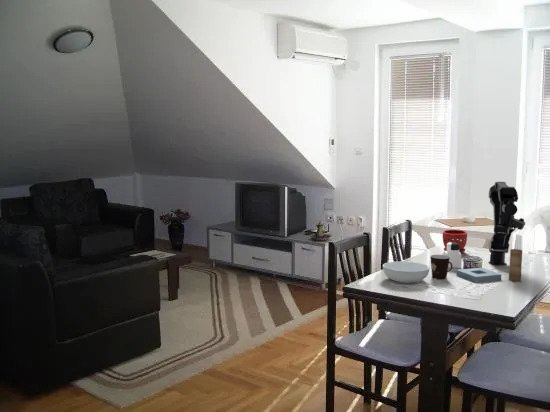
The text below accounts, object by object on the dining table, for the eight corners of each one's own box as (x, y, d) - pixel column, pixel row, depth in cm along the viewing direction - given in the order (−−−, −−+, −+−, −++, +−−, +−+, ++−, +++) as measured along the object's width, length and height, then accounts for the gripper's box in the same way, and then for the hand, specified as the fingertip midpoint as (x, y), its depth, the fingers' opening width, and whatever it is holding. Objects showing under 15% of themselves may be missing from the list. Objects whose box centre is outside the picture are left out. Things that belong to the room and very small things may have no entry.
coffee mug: (427, 275, 270) (428, 254, 268) (445, 275, 270) (446, 254, 268) (434, 281, 258) (435, 260, 257) (453, 281, 258) (454, 260, 257)
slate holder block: (481, 272, 274) (481, 267, 274) (501, 279, 261) (501, 274, 261) (456, 275, 270) (456, 269, 270) (475, 282, 257) (475, 276, 257)
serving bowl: (439, 282, 257) (439, 267, 256) (404, 289, 246) (405, 273, 245) (406, 273, 275) (406, 258, 274) (372, 278, 264) (373, 264, 263)
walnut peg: (511, 278, 263) (513, 248, 262) (522, 280, 260) (524, 250, 258) (507, 280, 260) (508, 250, 258) (518, 282, 256) (519, 251, 255)
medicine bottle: (458, 264, 291) (458, 241, 290) (461, 268, 284) (462, 244, 282) (443, 264, 292) (444, 241, 290) (446, 267, 285) (447, 244, 283)
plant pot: (440, 249, 328) (440, 229, 326) (463, 250, 327) (464, 229, 325) (444, 254, 315) (445, 233, 313) (468, 255, 314) (469, 233, 312)
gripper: (519, 216, 261) (517, 249, 263) (528, 212, 276) (526, 243, 278) (494, 214, 268) (492, 247, 270) (504, 210, 283) (503, 241, 285)
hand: (504, 244), depth 275 cm, fingers open, 9 cm apart
